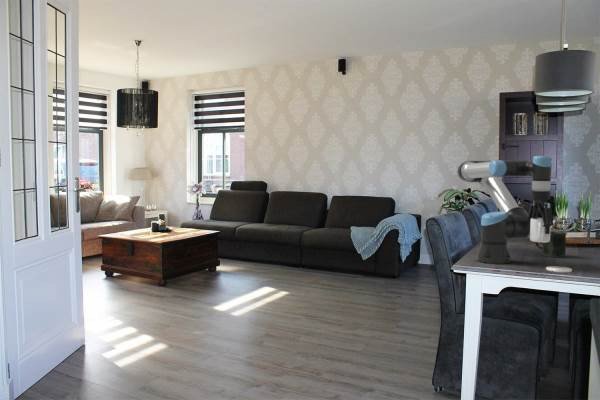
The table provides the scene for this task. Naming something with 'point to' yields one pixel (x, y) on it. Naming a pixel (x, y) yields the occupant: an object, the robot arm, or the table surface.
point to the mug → (554, 245)
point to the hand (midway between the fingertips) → (539, 239)
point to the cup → (537, 230)
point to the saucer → (559, 269)
